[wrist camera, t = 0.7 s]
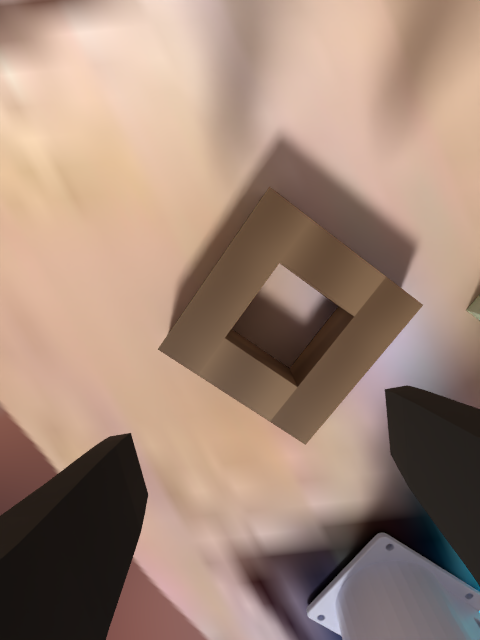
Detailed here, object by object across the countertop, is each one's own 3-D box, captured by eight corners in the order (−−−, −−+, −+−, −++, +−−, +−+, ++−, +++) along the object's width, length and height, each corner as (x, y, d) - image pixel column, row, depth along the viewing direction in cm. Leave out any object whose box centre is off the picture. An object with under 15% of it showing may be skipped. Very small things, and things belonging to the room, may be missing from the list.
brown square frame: (398, 296, 18) (423, 304, 16) (297, 419, 20) (305, 444, 18) (264, 194, 17) (269, 186, 15) (167, 335, 19) (157, 349, 16)
